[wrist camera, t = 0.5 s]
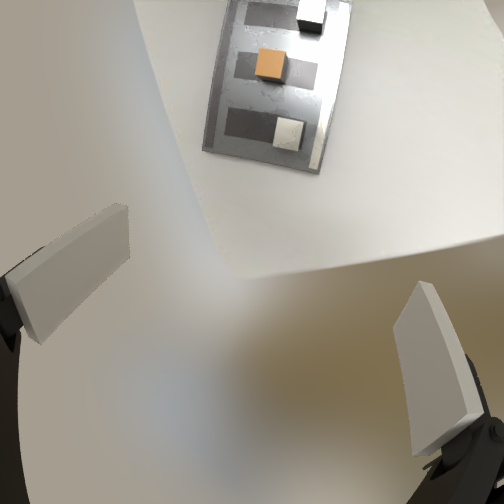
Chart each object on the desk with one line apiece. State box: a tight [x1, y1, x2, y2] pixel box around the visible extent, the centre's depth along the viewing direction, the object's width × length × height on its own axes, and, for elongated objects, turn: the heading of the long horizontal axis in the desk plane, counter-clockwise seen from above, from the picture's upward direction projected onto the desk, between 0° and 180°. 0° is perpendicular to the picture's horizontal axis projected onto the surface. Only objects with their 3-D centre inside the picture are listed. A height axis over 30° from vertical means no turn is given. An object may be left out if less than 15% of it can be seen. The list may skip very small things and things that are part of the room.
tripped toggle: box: [255, 48, 289, 83], centre depth 24 cm, size 3×2×4 cm
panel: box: [202, 0, 352, 174], centre depth 25 cm, size 22×14×6 cm, turn 171°
